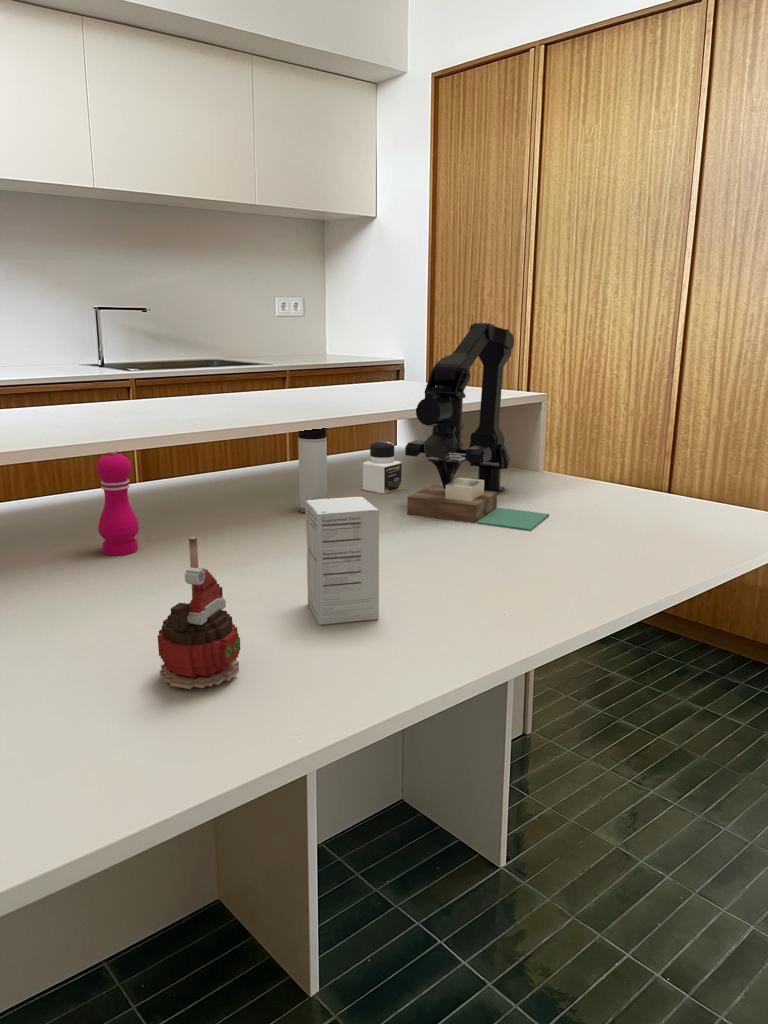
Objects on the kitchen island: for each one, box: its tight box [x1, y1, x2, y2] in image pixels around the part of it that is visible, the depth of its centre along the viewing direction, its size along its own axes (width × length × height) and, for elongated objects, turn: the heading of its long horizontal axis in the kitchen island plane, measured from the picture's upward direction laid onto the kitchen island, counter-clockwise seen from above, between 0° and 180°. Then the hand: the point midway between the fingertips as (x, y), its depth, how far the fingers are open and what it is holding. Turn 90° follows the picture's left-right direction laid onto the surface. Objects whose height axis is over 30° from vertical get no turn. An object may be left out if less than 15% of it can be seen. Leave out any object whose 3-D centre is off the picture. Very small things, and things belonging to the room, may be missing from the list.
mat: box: [475, 507, 550, 532], centre depth 173 cm, size 14×12×1 cm
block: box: [445, 477, 484, 501], centre depth 177 cm, size 9×6×3 cm, turn 156°
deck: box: [406, 484, 498, 524], centre depth 179 cm, size 14×16×4 cm
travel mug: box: [297, 427, 328, 514], centre depth 177 cm, size 6×7×20 cm
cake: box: [157, 536, 241, 690], centre depth 97 cm, size 11×9×18 cm
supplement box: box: [305, 496, 380, 626], centre depth 119 cm, size 10×9×17 cm
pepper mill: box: [96, 451, 140, 556], centre depth 147 cm, size 7×7×20 cm
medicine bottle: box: [362, 441, 403, 495], centre depth 199 cm, size 7×7×12 cm
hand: (446, 489), depth 179 cm, fingers closed
